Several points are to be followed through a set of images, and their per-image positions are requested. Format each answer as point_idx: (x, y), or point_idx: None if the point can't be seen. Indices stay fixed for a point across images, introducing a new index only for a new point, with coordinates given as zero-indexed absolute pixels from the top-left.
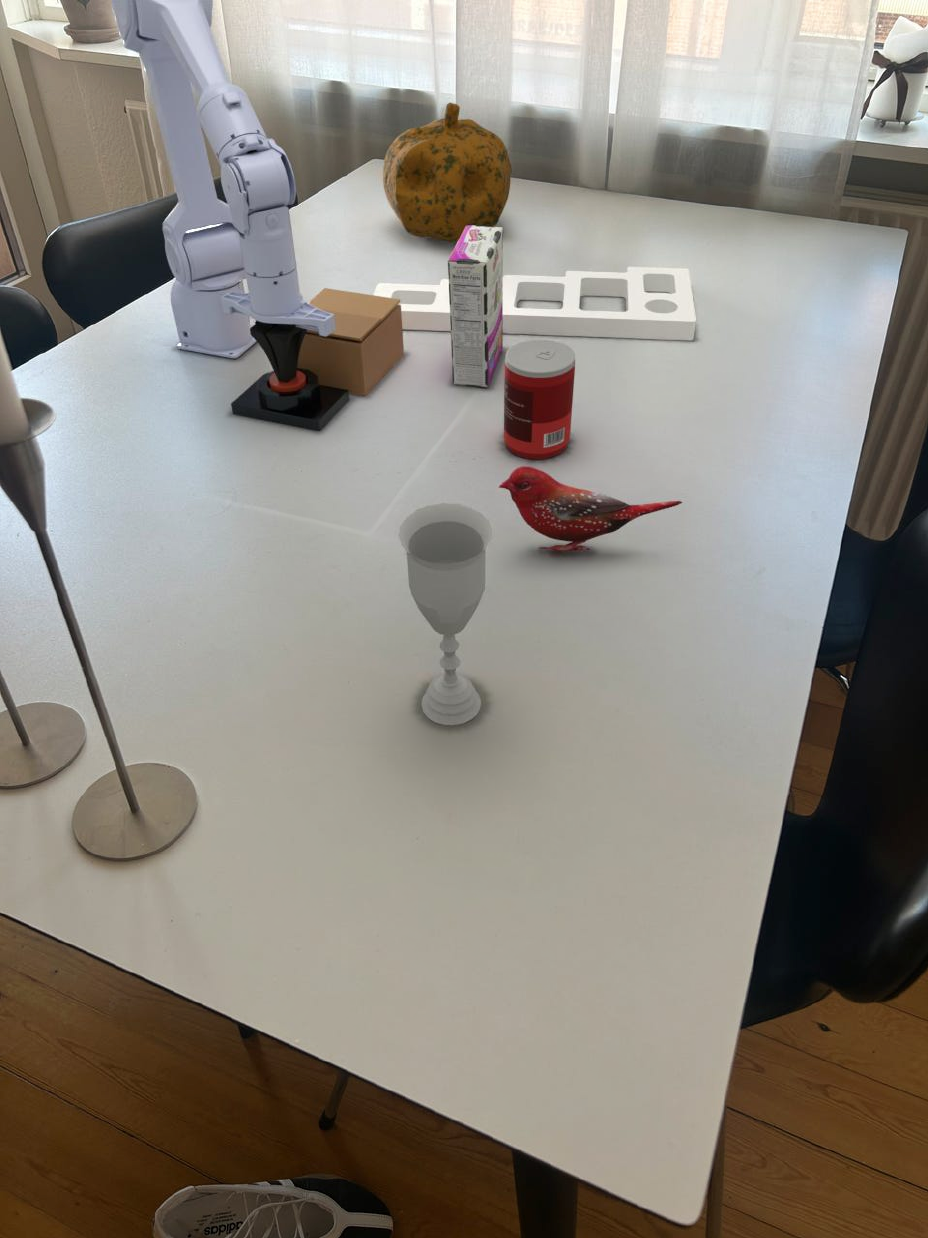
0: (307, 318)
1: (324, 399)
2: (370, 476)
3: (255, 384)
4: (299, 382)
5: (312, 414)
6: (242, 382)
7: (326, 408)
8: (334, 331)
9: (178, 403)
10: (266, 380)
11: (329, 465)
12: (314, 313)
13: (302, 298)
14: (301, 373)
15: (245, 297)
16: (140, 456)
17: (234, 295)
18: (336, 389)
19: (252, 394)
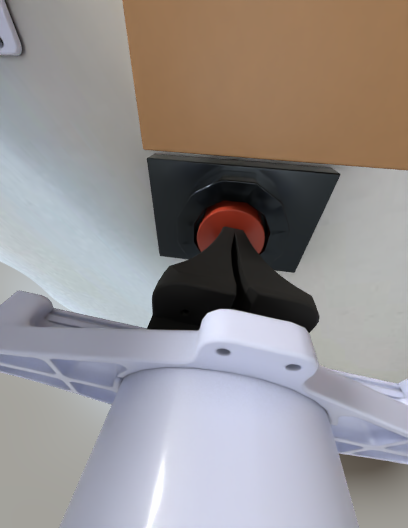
0: (362, 456)
1: (294, 220)
2: (362, 318)
3: (157, 200)
4: (257, 250)
5: (282, 261)
6: (114, 156)
7: (302, 244)
8: (383, 141)
9: (88, 236)
10: (192, 241)
11: None
12: (396, 449)
13: (311, 342)
14: (250, 219)
15: (61, 373)
16: (136, 312)
17: (13, 365)
18: (313, 180)
19: (172, 229)
